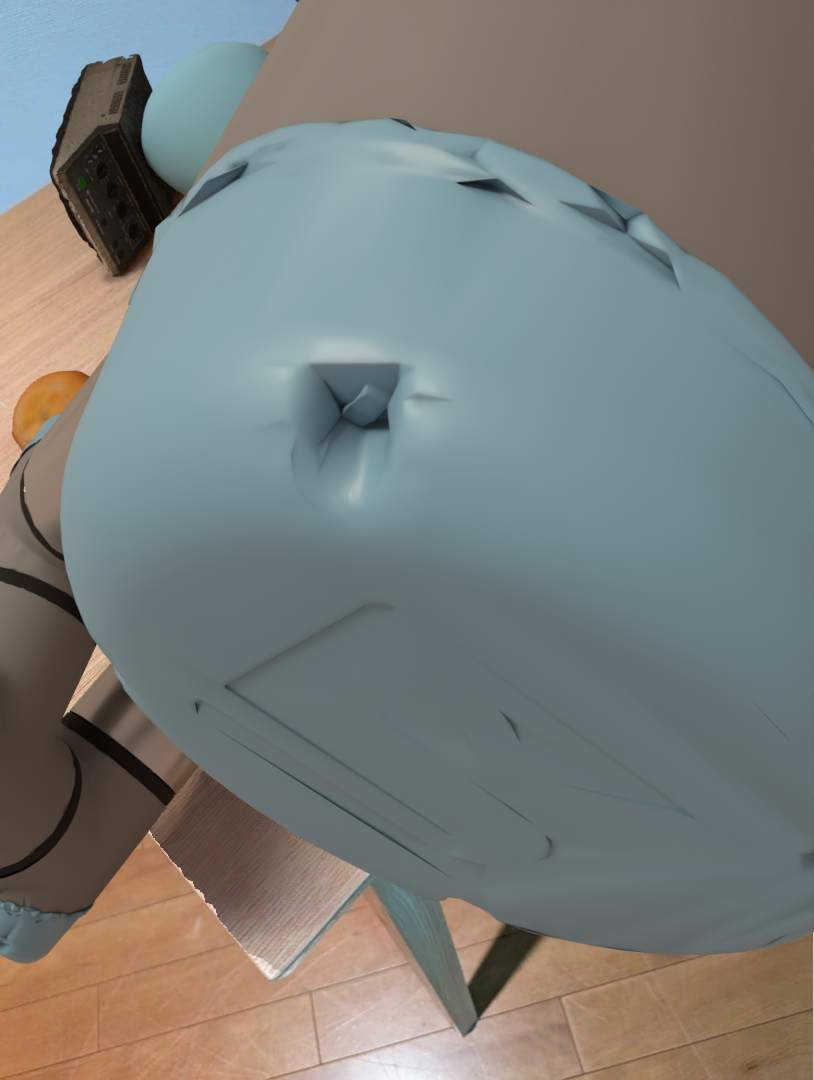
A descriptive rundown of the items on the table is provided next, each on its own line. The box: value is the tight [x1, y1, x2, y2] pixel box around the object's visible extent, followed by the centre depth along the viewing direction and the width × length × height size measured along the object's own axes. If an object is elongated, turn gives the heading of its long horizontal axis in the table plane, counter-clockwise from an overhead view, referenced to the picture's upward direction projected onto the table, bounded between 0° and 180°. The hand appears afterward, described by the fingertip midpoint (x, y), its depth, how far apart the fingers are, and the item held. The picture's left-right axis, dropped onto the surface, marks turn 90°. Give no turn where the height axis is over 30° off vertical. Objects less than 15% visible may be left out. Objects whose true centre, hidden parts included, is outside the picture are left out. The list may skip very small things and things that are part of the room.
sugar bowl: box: [142, 41, 269, 196], centre depth 94 cm, size 15×15×12 cm
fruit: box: [11, 369, 91, 452], centre depth 81 cm, size 8×8×8 cm
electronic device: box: [49, 53, 177, 276], centre depth 96 cm, size 12×17×6 cm
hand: (390, 433), depth 66 cm, fingers open, 13 cm apart
